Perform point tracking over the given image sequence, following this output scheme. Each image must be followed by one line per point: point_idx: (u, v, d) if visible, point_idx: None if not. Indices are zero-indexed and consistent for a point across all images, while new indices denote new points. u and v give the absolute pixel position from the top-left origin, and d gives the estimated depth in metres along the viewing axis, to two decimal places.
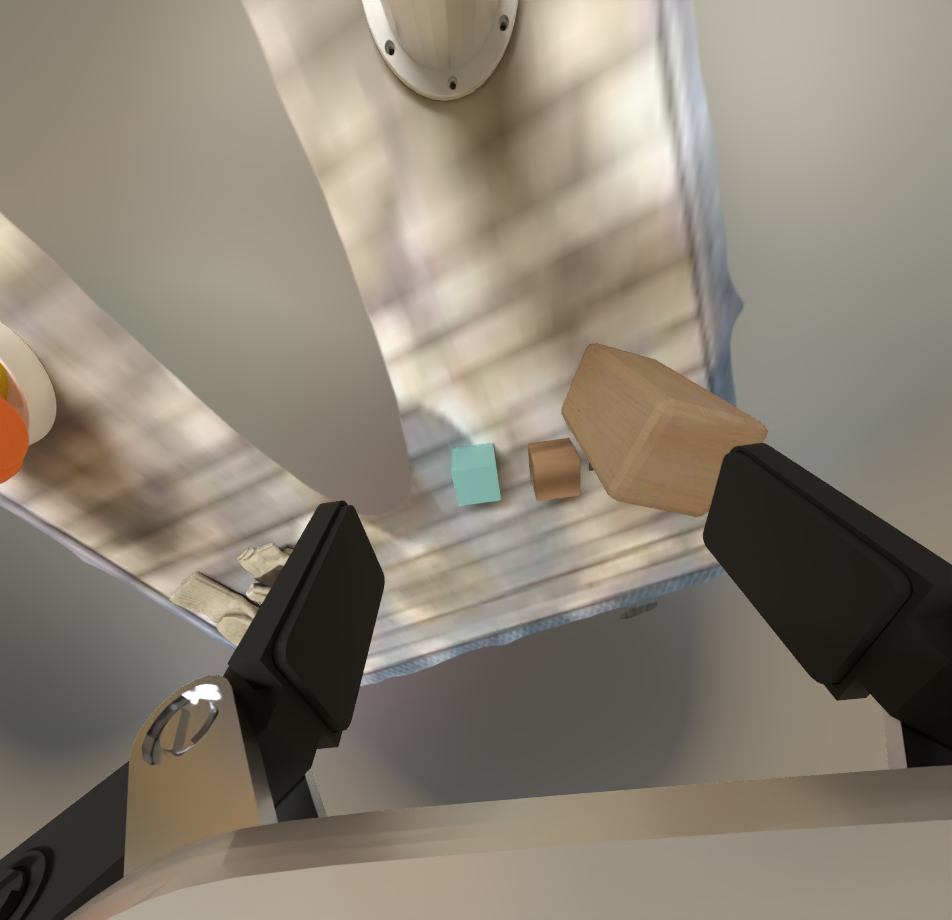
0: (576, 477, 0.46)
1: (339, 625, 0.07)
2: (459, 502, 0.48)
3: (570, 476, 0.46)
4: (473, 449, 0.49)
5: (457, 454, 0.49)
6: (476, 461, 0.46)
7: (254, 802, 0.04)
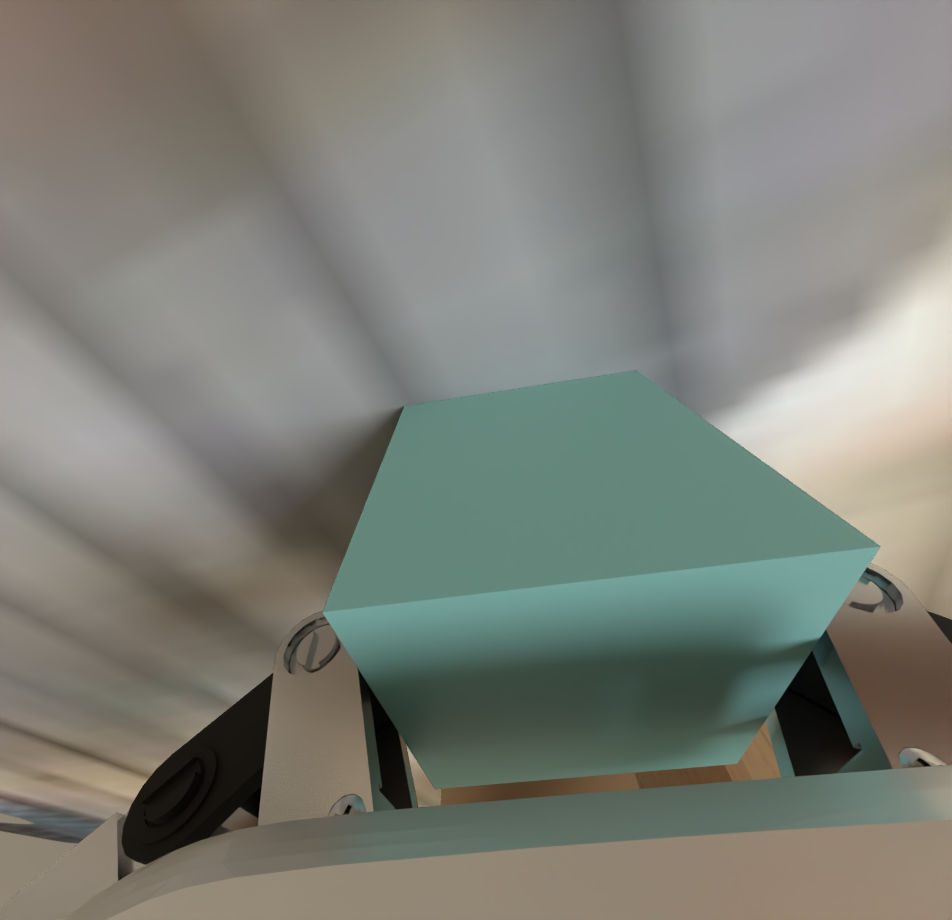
0: None
1: None
2: (381, 618, 0.04)
3: None
4: None
5: None
6: None
7: (363, 741, 0.04)
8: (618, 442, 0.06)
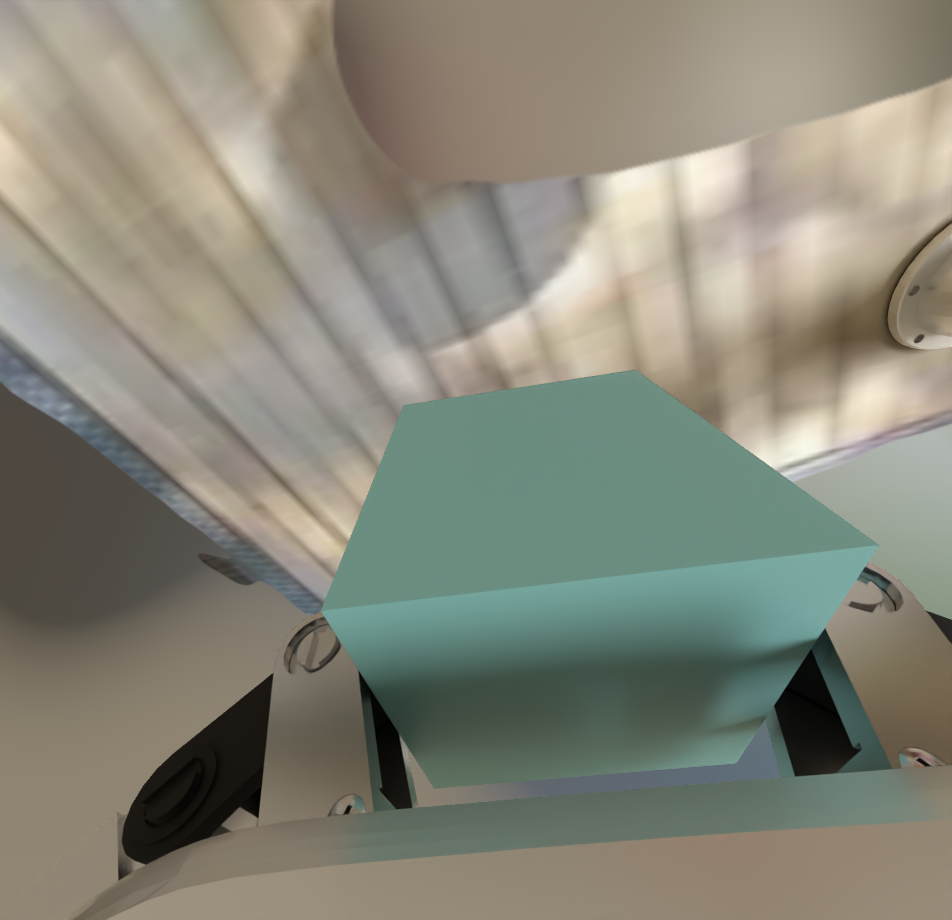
0: None
1: None
2: (379, 617, 0.04)
3: None
4: None
5: None
6: None
7: (364, 741, 0.04)
8: (617, 441, 0.06)
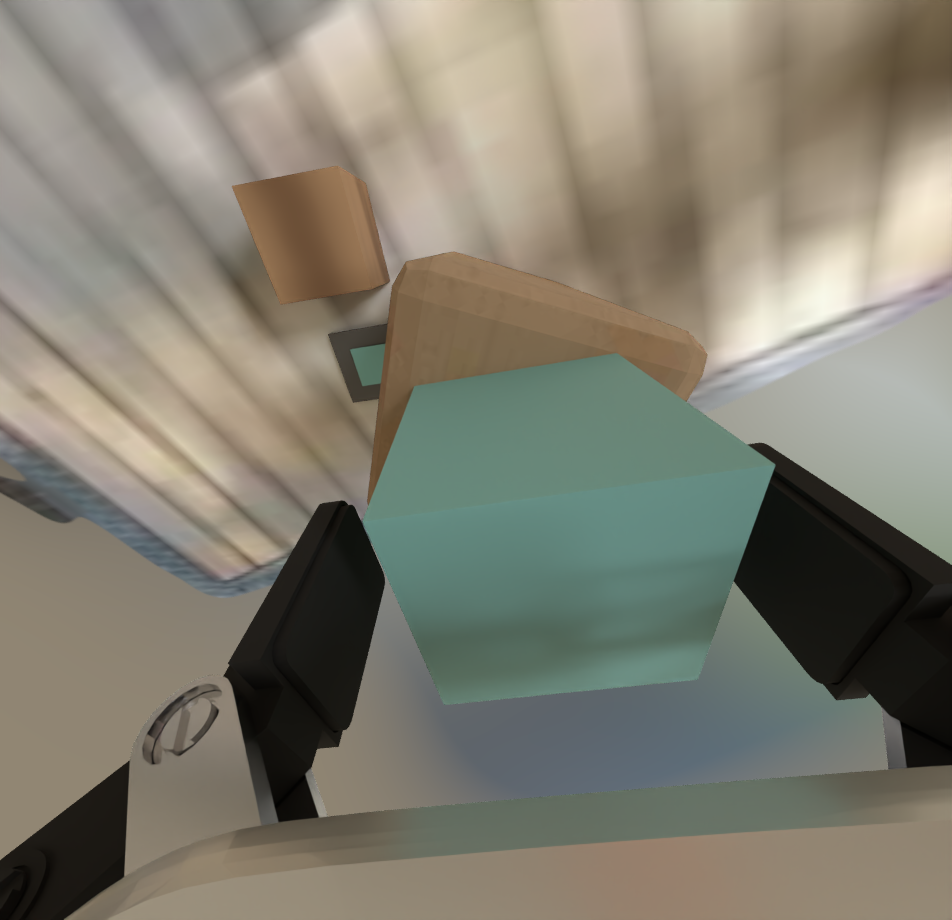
0: (325, 286, 0.21)
1: (339, 625, 0.07)
2: (406, 526, 0.05)
3: (324, 272, 0.21)
4: None
5: None
6: None
7: (255, 801, 0.04)
8: (594, 406, 0.07)
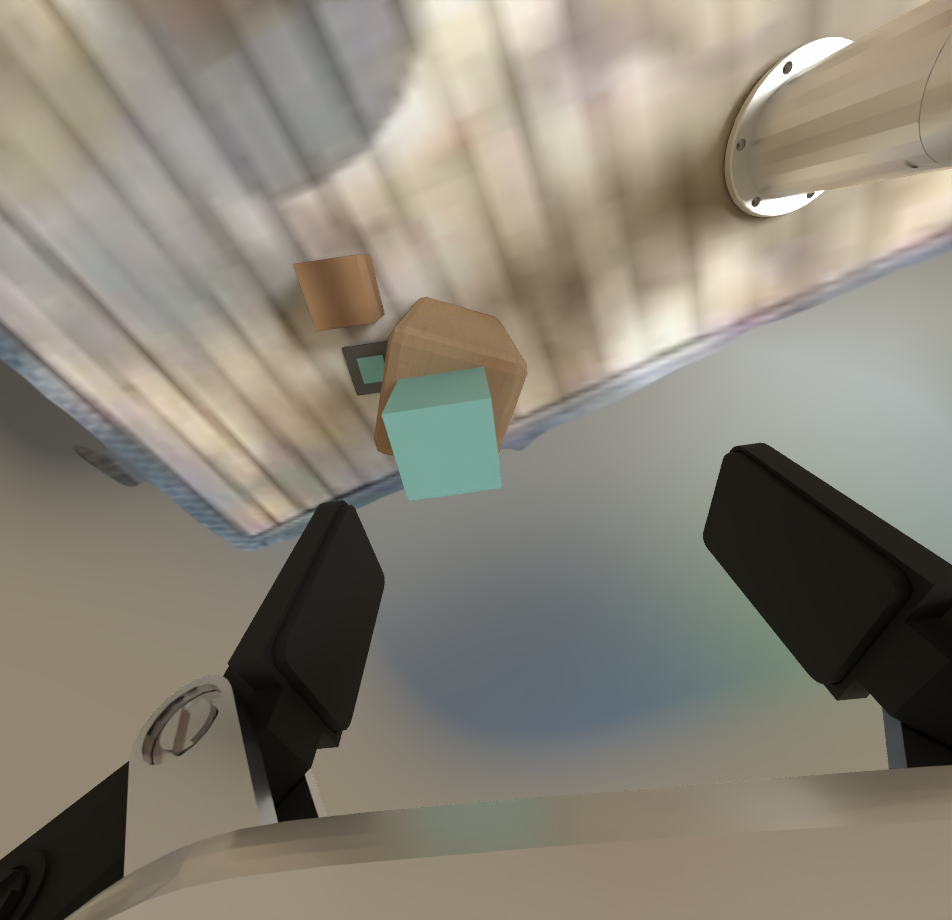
0: (345, 321, 0.35)
1: (339, 625, 0.07)
2: (393, 416, 0.19)
3: (344, 312, 0.34)
4: None
5: None
6: None
7: (254, 802, 0.04)
8: (460, 385, 0.21)
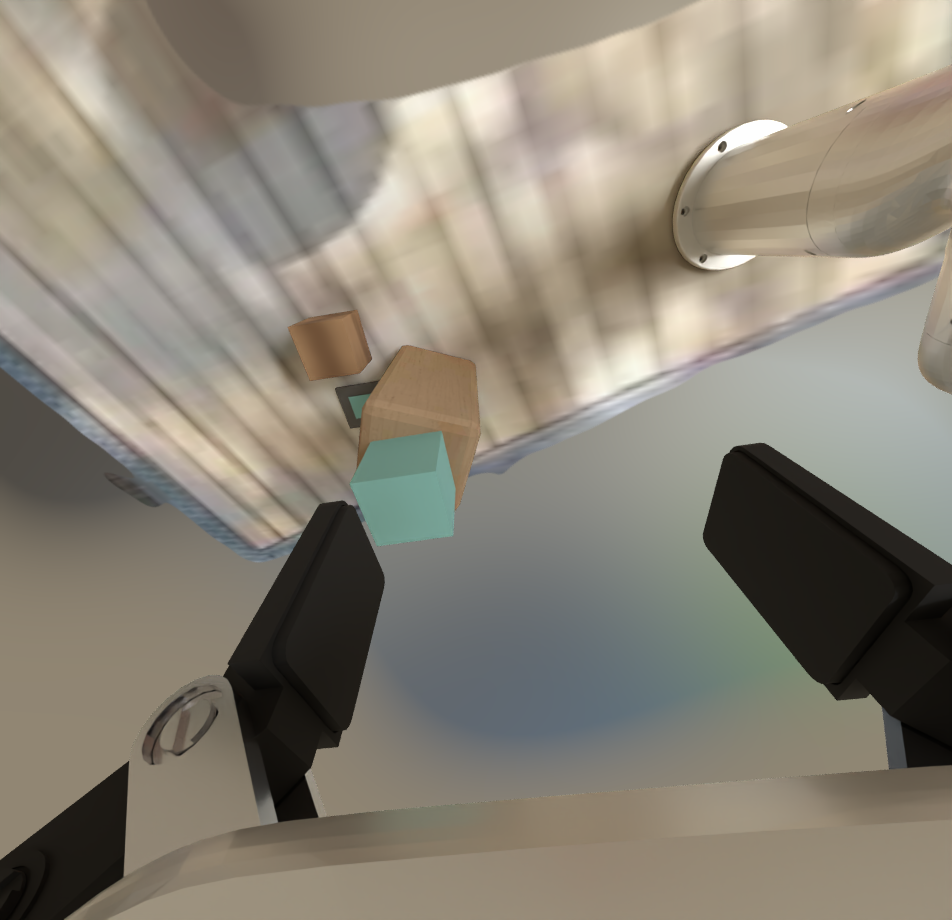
0: (334, 372, 0.39)
1: (339, 625, 0.07)
2: (359, 485, 0.23)
3: (334, 365, 0.39)
4: (448, 469, 0.29)
5: (442, 451, 0.27)
6: (447, 497, 0.26)
7: (254, 802, 0.04)
8: (416, 454, 0.25)
